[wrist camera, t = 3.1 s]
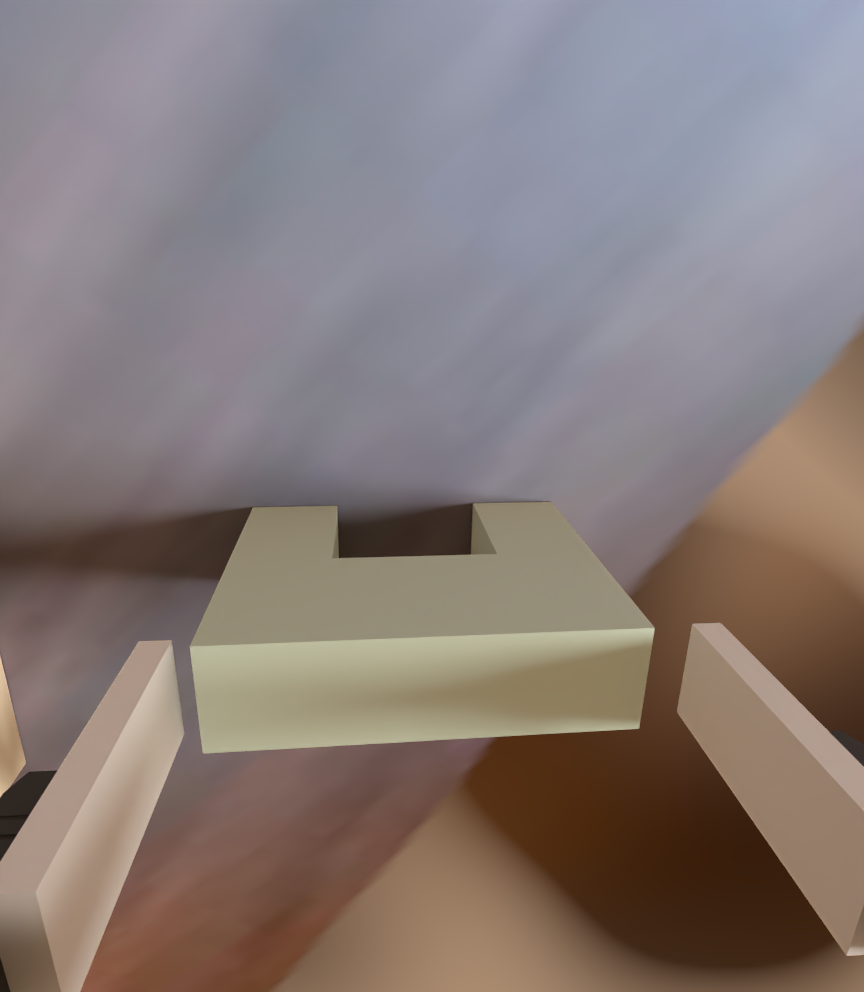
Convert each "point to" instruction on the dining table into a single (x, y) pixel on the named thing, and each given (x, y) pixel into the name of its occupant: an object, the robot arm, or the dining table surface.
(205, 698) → the sage plate
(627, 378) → the dining table surface
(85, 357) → the dining table surface
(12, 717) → the birch board
